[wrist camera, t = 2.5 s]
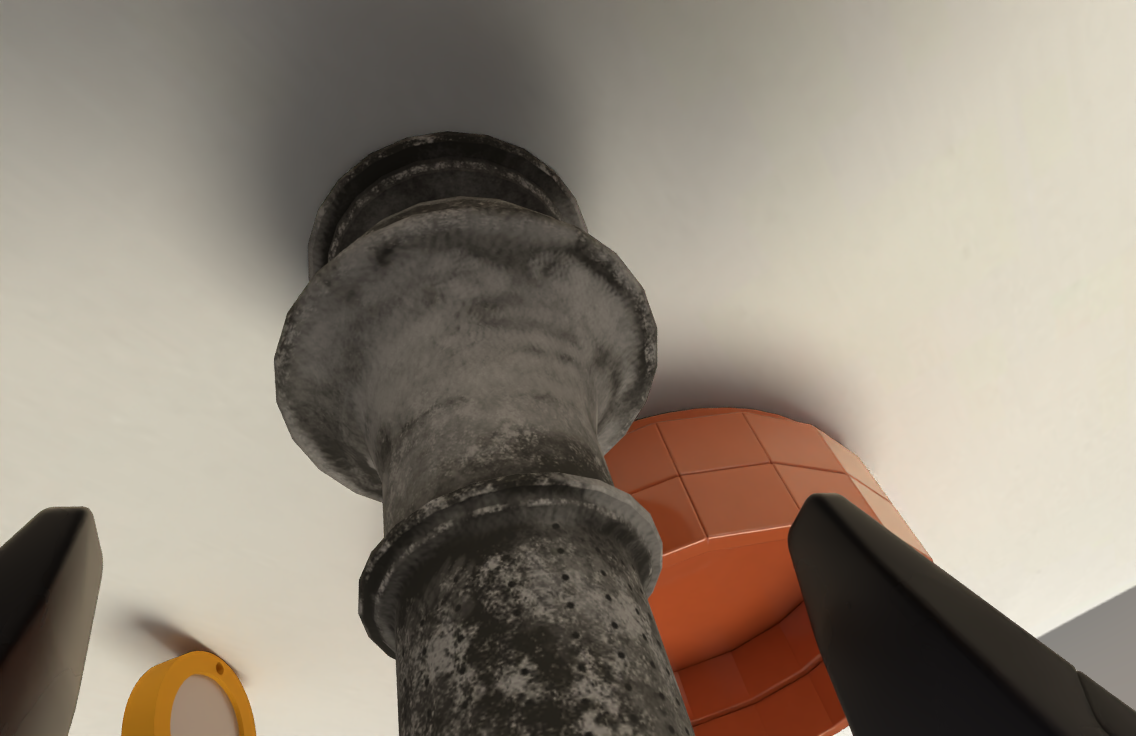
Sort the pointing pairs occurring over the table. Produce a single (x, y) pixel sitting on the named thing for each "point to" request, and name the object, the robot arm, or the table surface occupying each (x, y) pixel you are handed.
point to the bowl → (741, 560)
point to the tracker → (189, 700)
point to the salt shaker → (485, 440)
